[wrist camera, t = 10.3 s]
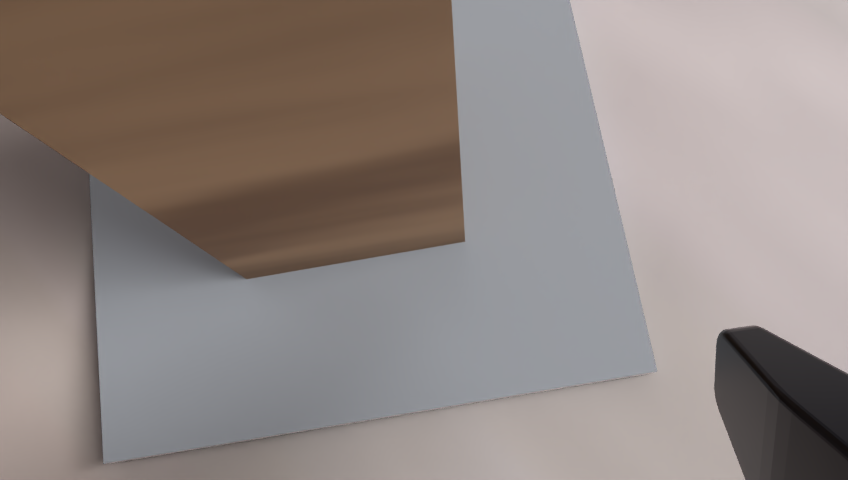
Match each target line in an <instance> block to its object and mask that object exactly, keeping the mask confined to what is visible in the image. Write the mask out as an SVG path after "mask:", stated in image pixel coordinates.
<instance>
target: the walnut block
mask: <svg viewBox="0 0 848 480" xmlns="http://www.w3.org/2000/svg"><path fill="white" fill-rule="evenodd" d="M0 114H1V115H3V116H4V117H6V118H7V119H9V120H10V121H12V122H13V123H15V124H16V125H18V126H19V127H21V128H22V129H24V130H25V131H27V132H28V133H30V134H31V135H33V136H34V137H36V138H37V139H39V140H40V141H42V142H43V143H45V144H46V145H48V146H49V147H51V148H52V149H54V150H55V151H57V152H58V153H59V154H61V155H62V156H64V157H65V158H67V159H68V160H70V161H71V162H73V163H74V164H76V165H77V166H79V167H80V168H82V169H83V170H85V171H86V172H88V173H89V174H91V175H92V176H94V177H95V178H97V179H98V180H100V181H101V182H103V183H104V184H106V185H107V186H109V187H110V188H112V189H113V190H115V191H116V192H118V193H119V194H120V195H122V196H123V197H125V198H126V199H128V200H129V201H131V202H132V203H134V204H135V205H137V206H138V207H140V208H141V209H143V210H144V211H146V212H147V213H149V214H150V215H152V216H153V217H155V218H156V219H158V220H159V221H161V222H162V223H164V224H165V225H167V226H168V227H170V228H171V229H173V230H174V231H176V232H177V233H178V234H180V235H181V236H183V237H184V238H186V239H187V240H189V241H190V242H192V243H193V244H195V245H196V246H198V247H199V248H201V249H202V250H204V251H205V252H207V253H208V254H210V255H211V256H213V257H214V258H216V259H217V260H219V261H220V262H222V263H223V264H225V265H226V266H228V267H229V268H231V269H232V270H234V271H235V272H236V273H238V274H239V275H241V276H242V277H244V278H245V279H251V278H257V277H263V276H269V275H275V274H280V273H286V272H292V271H298V270H304V269H309V268H315V267H321V266H327V265H333V264H338V263H344V262H350V261H356V260H362V259H367V258H373V257H379V256H385V255H391V254H396V253H402V252H408V251H414V250H420V249H425V248H431V247H437V246H443V245H449V244H454V243H460V242H465V229H464V212H463V194H462V176H461V159H460V141H459V124H458V106H457V89H456V71H455V53H454V36H453V18H452V1H451V0H0Z"/></svg>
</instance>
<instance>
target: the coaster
mask: <svg viewBox="0 0 848 480" xmlns="http://www.w3.org/2000/svg"><path fill="white" fill-rule="evenodd" d="M451 1H452V18H453V36H454V53H455V71H456V89H457V106H458V124H459V141H460V159H461V176H462V194H463V212H464V229H465V242H460V243H454V244H449V245H443V246H437V247H431V248H425V249H420V250H414V251H408V252H402V253H396V254H391V255H385V256H379V257H373V258H367V259H362V260H356V261H350V262H344V263H338V264H333V265H327V266H321V267H315V268H309V269H304V270H298V271H292V272H286V273H280V274H275V275H269V276H263V277H257V278H251V279H245V278H244V277H242V276H241V275H239V274H238V273H236V272H235V271H234V270H232V269H231V268H229V267H228V266H226V265H225V264H223V263H222V262H220V261H219V260H217V259H216V258H214V257H213V256H211V255H210V254H208V253H207V252H205V251H204V250H202V249H201V248H199V247H198V246H196V245H195V244H193V243H192V242H190V241H189V240H187V239H186V238H184V237H183V236H181V235H180V234H178V233H177V232H176V231H174V230H173V229H171V228H170V227H168V226H167V225H165V224H164V223H162V222H161V221H159V220H158V219H156V218H155V217H153V216H152V215H150V214H149V213H147V212H146V211H144V210H143V209H141V208H140V207H138V206H137V205H135V204H134V203H132V202H131V201H129V200H128V199H126V198H125V197H123V196H122V195H120V194H119V193H118V192H116V191H115V190H113V189H112V188H110V187H109V186H107V185H106V184H104V183H103V182H101V181H100V180H98V179H97V178H95V177H94V176H92V175H91V174H89V180H90V200H91V220H92V241H93V261H94V281H95V302H96V322H97V342H98V363H99V383H100V403H101V424H102V444H103V464H106V463H117V462H123V461H129V460H135V459H141V458H147V457H153V456H159V455H165V454H171V453H177V452H183V451H189V450H195V449H201V448H207V447H213V446H219V445H225V444H231V443H237V442H243V441H249V440H255V439H261V438H267V437H273V436H279V435H285V434H291V433H297V432H303V431H309V430H315V429H321V428H327V427H333V426H339V425H345V424H351V423H357V422H363V421H369V420H375V419H381V418H387V417H393V416H399V415H405V414H411V413H417V412H423V411H429V410H435V409H441V408H447V407H453V406H459V405H465V404H471V403H477V402H483V401H489V400H495V399H501V398H507V397H513V396H519V395H525V394H531V393H537V392H543V391H549V390H555V389H561V388H567V387H573V386H579V385H585V384H591V383H597V382H603V381H609V380H615V379H621V378H627V377H633V376H639V375H645V374H651V373H654V372H657V368H656V364H655V359H654V355H653V351H652V347H651V343H650V338H649V334H648V330H647V326H646V321H645V317H644V313H643V309H642V305H641V300H640V296H639V292H638V288H637V283H636V279H635V275H634V271H633V266H632V262H631V258H630V254H629V250H628V245H627V241H626V237H625V233H624V228H623V224H622V220H621V216H620V212H619V207H618V203H617V199H616V195H615V190H614V186H613V182H612V178H611V173H610V169H609V165H608V161H607V157H606V152H605V148H604V144H603V140H602V135H601V131H600V127H599V123H598V119H597V114H596V110H595V106H594V102H593V97H592V93H591V89H590V85H589V80H588V76H587V72H586V68H585V64H584V59H583V55H582V51H581V47H580V42H579V38H578V34H577V30H576V26H575V21H574V17H573V13H572V9H571V4H570V0H451Z"/></svg>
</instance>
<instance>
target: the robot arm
mask: <svg viewBox="0 0 848 480" xmlns="http://www.w3.org/2000/svg"><path fill="white" fill-rule="evenodd" d="M714 390H715V398H716V402H717V406H718V409H719V412H720V414H721V417H722V420H723V422H724V425H725V427H726V430H727V433H728V435H729V438H730V441H731V443H732V446H733V448H734V451H735V454H736V456H737V459H738V461H739V464H740V467H741V469H742V472H743V475H744V477H745V480H848V374H847V373H846V372H844V371H842V370H840V369H838V368H836V367H834V366H832V365H831V364H829V363H827V362H825V361H823V360H821V359H819V358H818V357H816V356H814V355H812V354H810V353H808V352H806V351H805V350H803V349H801V348H799V347H797V346H795V345H793V344H791V343H790V342H788V341H786V340H784V339H782V338H780V337H778V336H777V335H775V334H773V333H771V332H769V331H767V330H765V329H763V328H761V327H759V326H746V327H739V328H732V329H725V330H723V331H722V332H721V333H720V334H719V336H718V338H717V344H716V364H715V383H714Z"/></svg>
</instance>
